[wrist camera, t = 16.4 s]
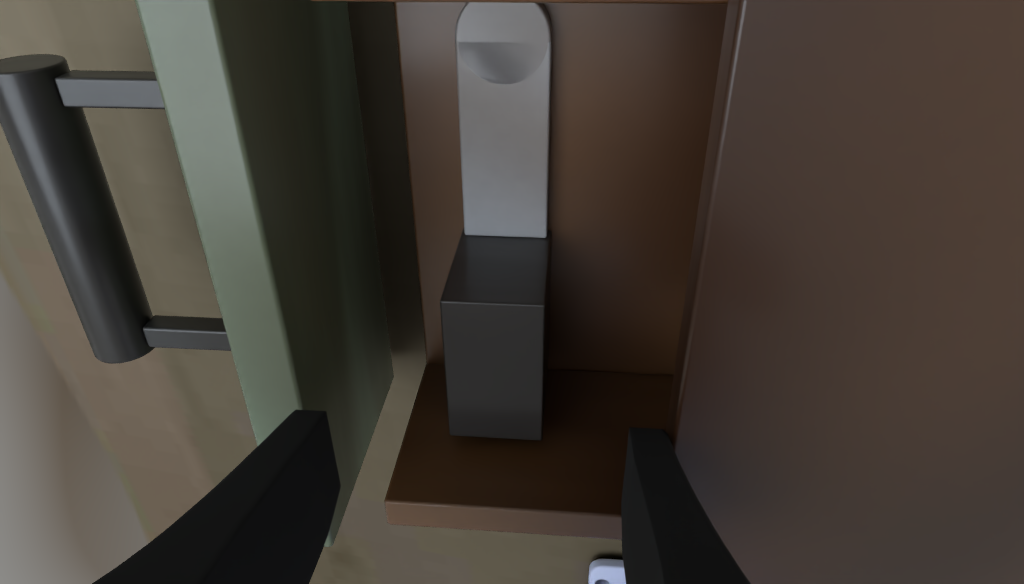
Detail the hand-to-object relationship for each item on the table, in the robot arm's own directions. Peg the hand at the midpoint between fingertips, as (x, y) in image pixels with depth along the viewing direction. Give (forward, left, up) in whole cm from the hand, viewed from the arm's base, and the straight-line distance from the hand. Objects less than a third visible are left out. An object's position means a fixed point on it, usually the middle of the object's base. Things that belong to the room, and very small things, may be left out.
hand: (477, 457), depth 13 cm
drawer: (+3, +1, -7) cm, 7 cm away
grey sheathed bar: (+3, 0, -6) cm, 6 cm away
